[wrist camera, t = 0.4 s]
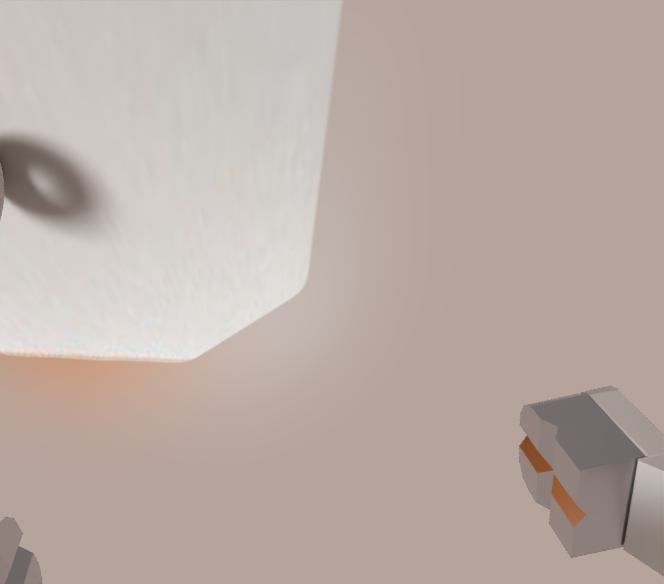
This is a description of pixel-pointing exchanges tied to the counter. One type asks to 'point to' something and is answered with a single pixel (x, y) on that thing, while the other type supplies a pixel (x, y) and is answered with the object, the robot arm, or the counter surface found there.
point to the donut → (1, 190)
